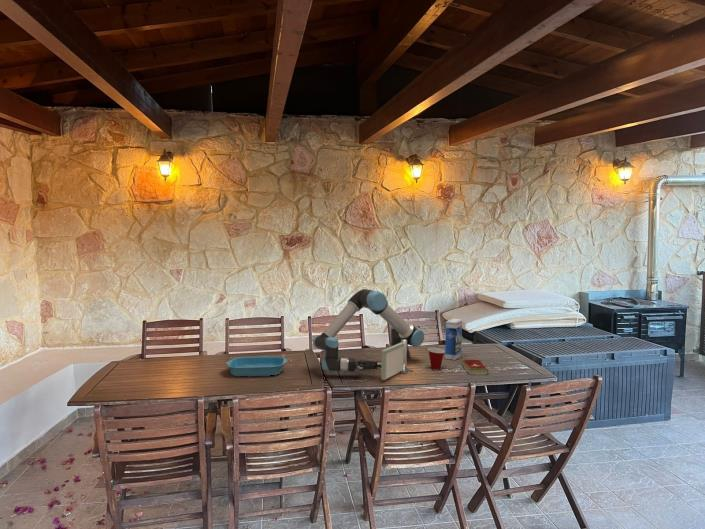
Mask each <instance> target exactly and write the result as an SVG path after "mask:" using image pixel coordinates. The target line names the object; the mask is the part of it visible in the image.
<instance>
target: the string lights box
mask: <svg viewBox="0 0 705 529" xmlns="http://www.w3.org/2000/svg"><path fill="white" fill-rule="evenodd" d="M462 331H463V319H461V318H460V319H459V318H450V319H449V320H447V321H445V353H444V359H445V360H450V359H452V360H453V361H456V360H457V358H458V359H460V358H461V357H462V344H463V342H462V340H463V335H462V334H463V332H462ZM460 356H461V357H460Z"/></svg>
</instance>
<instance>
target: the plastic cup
mask: <svg viewBox="0 0 705 529" xmlns="http://www.w3.org/2000/svg"><path fill="white" fill-rule="evenodd" d="M427 350H428V355H429V363H430V368H431V369H432V370H440V369H441V368H442V364H443V358H444V356H445V350H444V349H442V348H438V347H428V348H427Z"/></svg>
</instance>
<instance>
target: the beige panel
mask: <svg viewBox="0 0 705 529" xmlns="http://www.w3.org/2000/svg"><path fill="white" fill-rule="evenodd" d="M390 346H391V345H390ZM403 346H404V343H398V344H396V345H394V346H391V347H387V348H385V349H383V350H381V356H380V357H381V362H380V363H381V368H380V370H381V371H380V372H381V375H380V376H381V377H380V379H381V381H382V380H383V381H385V380H387V379H389V378H391V377H394V375H396V374H398V373H399V372H400V371H402V370H403Z"/></svg>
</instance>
